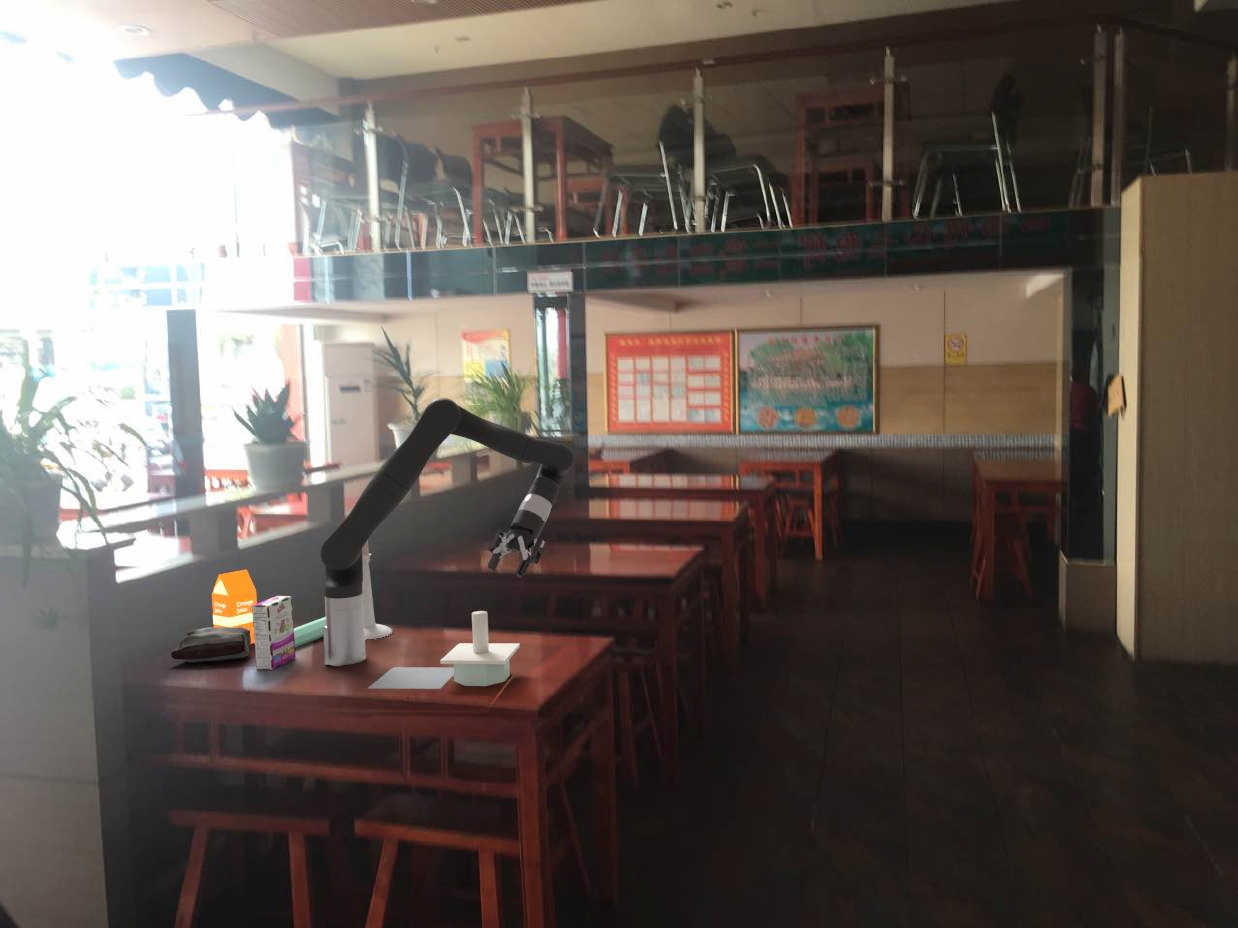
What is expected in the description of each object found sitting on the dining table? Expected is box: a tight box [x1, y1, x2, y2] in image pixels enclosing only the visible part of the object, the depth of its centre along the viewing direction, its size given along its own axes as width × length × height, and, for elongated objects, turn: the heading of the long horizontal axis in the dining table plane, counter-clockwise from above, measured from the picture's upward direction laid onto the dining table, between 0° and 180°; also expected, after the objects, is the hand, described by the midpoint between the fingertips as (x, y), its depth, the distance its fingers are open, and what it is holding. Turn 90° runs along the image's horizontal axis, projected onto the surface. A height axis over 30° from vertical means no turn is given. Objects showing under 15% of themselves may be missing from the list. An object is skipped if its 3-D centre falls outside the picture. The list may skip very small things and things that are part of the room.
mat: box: [367, 666, 454, 690], centre depth 230 cm, size 17×17×1 cm
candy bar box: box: [252, 595, 297, 671], centre depth 247 cm, size 11×5×16 cm, turn 168°
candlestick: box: [362, 539, 393, 641], centre depth 275 cm, size 13×13×30 cm
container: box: [294, 616, 326, 648], centre depth 270 cm, size 6×6×25 cm
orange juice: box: [211, 569, 258, 645], centre depth 270 cm, size 8×9×20 cm
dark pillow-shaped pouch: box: [170, 626, 251, 663], centre depth 253 cm, size 18×11×8 cm, turn 96°
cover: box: [439, 610, 521, 665], centre depth 228 cm, size 15×15×10 cm
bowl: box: [452, 659, 511, 687], centre depth 228 cm, size 12×12×6 cm
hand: (504, 572), depth 238 cm, fingers open, 8 cm apart
